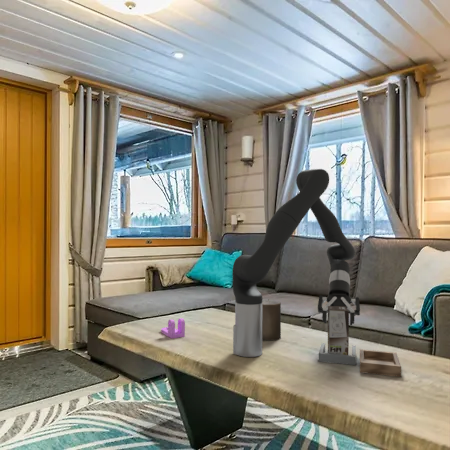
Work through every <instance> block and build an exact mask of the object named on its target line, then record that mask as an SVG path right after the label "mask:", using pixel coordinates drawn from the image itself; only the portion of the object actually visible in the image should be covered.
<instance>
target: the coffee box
mask: <svg viewBox="0 0 450 450" xmlns="http://www.w3.org/2000/svg"><path fill="white" fill-rule="evenodd" d="M349 327H350V314H349V310H348V309H347V307H346V306H328V313H327V353H331V354H342V355H350V354H349V348H350V346H349V342H350V341H349V336H350V335H349V333H350V331H349V330H350V328H349Z"/></svg>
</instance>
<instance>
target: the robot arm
mask: <svg viewBox="0 0 450 450" xmlns="http://www.w3.org/2000/svg"><path fill="white" fill-rule="evenodd" d="M295 182H296V187H297V189H298V190H299V192H298V193H297V194H296V195H294V196H293V197H292V198H291V199H289V200H288V201H286V202H285V203H284V204H282V205H281V206H280V207H279V208H278V209H277V210H276V212H275V213H274V214H273V216H272V217H271V218H270V220H269V221H268V223H267V226H266V230H265V236H264V239H263V241H262V243H261V244H260V246H259V247H258V249H257V250H256V251H255V252H254V253H253V254H252V255H250V254H249V255H248V254H242V255H239V256H238V257H236V259H235V261H234V262H233V264H232V292H233V296H234V298H235V305H234V306H235V309H234V311H235V312H234V313H235V315H234V316H235V317H234V325H233V330H232V331H233V333H232V345H233V347H232V348H233V349H232V351H233V352H232V354H233V355H237V356H239V357H245V358H246V357H247V358H255V357H259V356H261V355H262V354H263V340H262V301H263V295H262V293H261V292H260V291H259V289H258V287H257V284H259V283H260V282H262V281H263V280H264V279H265V278H266V277H267V275H268V273H269V272H270V270H271V267H272V266H273V264H274V262H275V261H276V259H277V257H278V255H279V253H280V252H281V251H282V249H283V248H284V246H285V245H286V244H287V242H288V240H289V239H290V237H291V236H292V235H293V234H294V232H295V231H296V229H297V228H298V226H299V225H300V223H301V222H302V221H303V219H304V218H305V216H306V215H307V214H308V212H309V210H310V211H311V212H312V213H313V215H314V217H315V219H316V221H317V223H318V225H319V227H320V230H321V233H322V235H323V237H324V239H325V241H326V242H328V243H336V244H332V245H330V246H328V247H327V249H326V256H327V258H328V261H329V266H330V268H329V269H330V271H329V272H330V273H329V280H328V293H327V294H328V296H327V297H326V296H323V295H321V294H320V295H319V296H318V301H317V312H318V313H321V314H322V316H321V319H322V322H323V323H324V324H328V306H346V307H347V309H348V310H349V326H353V325H355V317H356V316H360V315H361V313H360V312H361V305H360V298H359V297H358V296H356V297H355V298H352V297H351V279H350V269H351V268H350V265H349V263H348V261H349V260H353V258H354V257H355V255H356V254H355V253H356V251H355V248H354V246H353V244H352V243H351V242H350V240H349V239H348V238H347V237H346V235H345V233H343V230H342V228H341V225H340V224H339V221H338V219H337V217H336V215H335V214H334V213H333V212H332V211H331V209H330V208H329V207H328V206H327V205H326V204H325V203H324V202H323V200H322V199H321V196H322V195H323V194H324V193H325V192H326V190H327V188H328V187H329V184H330V174H329V173H328V171H327V170H326V169H323V168H311V169H304V170H302V171H300V172H299V173H298V174H297V176H296V180H295ZM326 302H327V303H326ZM325 303H326V305H325V306H324V307H323V304H325ZM351 303H352V304H353V306H355V309H354V308H353V307H352V305H351Z"/></svg>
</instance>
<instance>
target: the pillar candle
mask: <svg viewBox="0 0 450 450" xmlns="http://www.w3.org/2000/svg"><path fill="white" fill-rule="evenodd" d="M281 311H282V308H281V302H280V301H276V300H270V299H268V300H262V341H277V340H280V339H282V338H281V337H282V335H281V334H282V332H281V331H282V330H281V329H282V326H281V325H282V323H281V320H282V318H281V314H282V313H281Z"/></svg>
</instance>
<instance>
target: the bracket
mask: <svg viewBox="0 0 450 450" xmlns="http://www.w3.org/2000/svg"><path fill="white" fill-rule="evenodd" d="M160 330H161V331H160V332H161V333H162V334H163V335H165V336H166V337H168V338H170V339H177V338H184V337H186V335H185V334H186V333H185V331H186V321H185V318H183V317H182V318H181V317H180V318H178V319H177V328H176V322H175V320H174V319H168V321H167V327H162V328H161V329H160Z"/></svg>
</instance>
